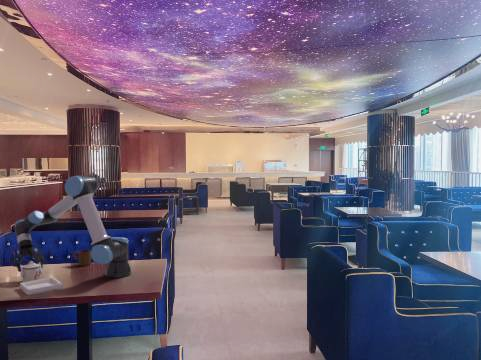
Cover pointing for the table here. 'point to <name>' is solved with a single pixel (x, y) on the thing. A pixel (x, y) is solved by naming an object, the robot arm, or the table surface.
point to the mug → (83, 257)
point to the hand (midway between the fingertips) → (31, 274)
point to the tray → (41, 286)
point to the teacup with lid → (31, 272)
